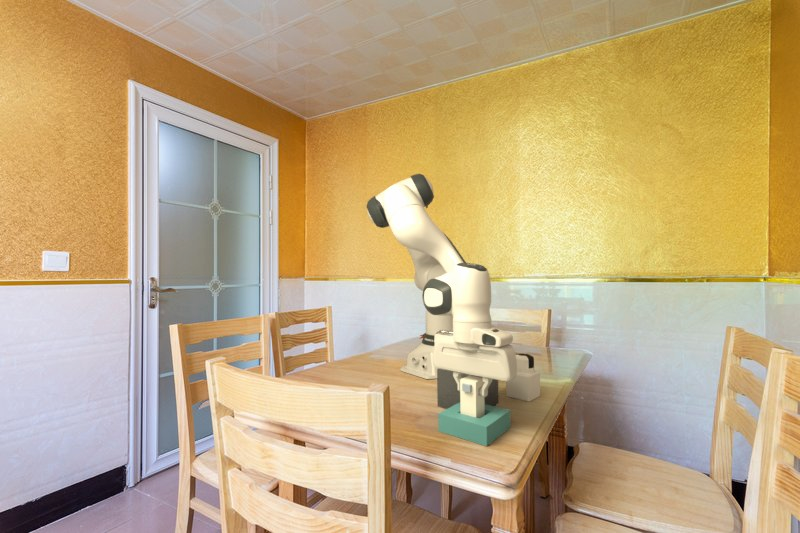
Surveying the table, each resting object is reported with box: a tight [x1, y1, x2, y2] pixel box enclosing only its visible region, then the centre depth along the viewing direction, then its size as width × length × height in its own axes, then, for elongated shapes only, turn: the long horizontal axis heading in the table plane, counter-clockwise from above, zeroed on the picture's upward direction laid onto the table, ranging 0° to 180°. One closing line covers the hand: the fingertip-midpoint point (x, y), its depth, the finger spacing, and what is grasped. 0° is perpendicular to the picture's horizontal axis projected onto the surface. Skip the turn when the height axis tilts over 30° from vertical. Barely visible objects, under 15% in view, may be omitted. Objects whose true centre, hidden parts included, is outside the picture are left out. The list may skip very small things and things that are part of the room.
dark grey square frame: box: [436, 369, 500, 410], centre depth 103 cm, size 12×12×10 cm
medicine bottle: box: [505, 353, 541, 402], centre depth 109 cm, size 7×7×12 cm
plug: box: [460, 376, 485, 418], centre depth 87 cm, size 4×5×9 cm
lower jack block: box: [437, 402, 511, 447], centre depth 87 cm, size 12×12×4 cm
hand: (472, 393), depth 87 cm, fingers closed on plug, 4 cm apart
